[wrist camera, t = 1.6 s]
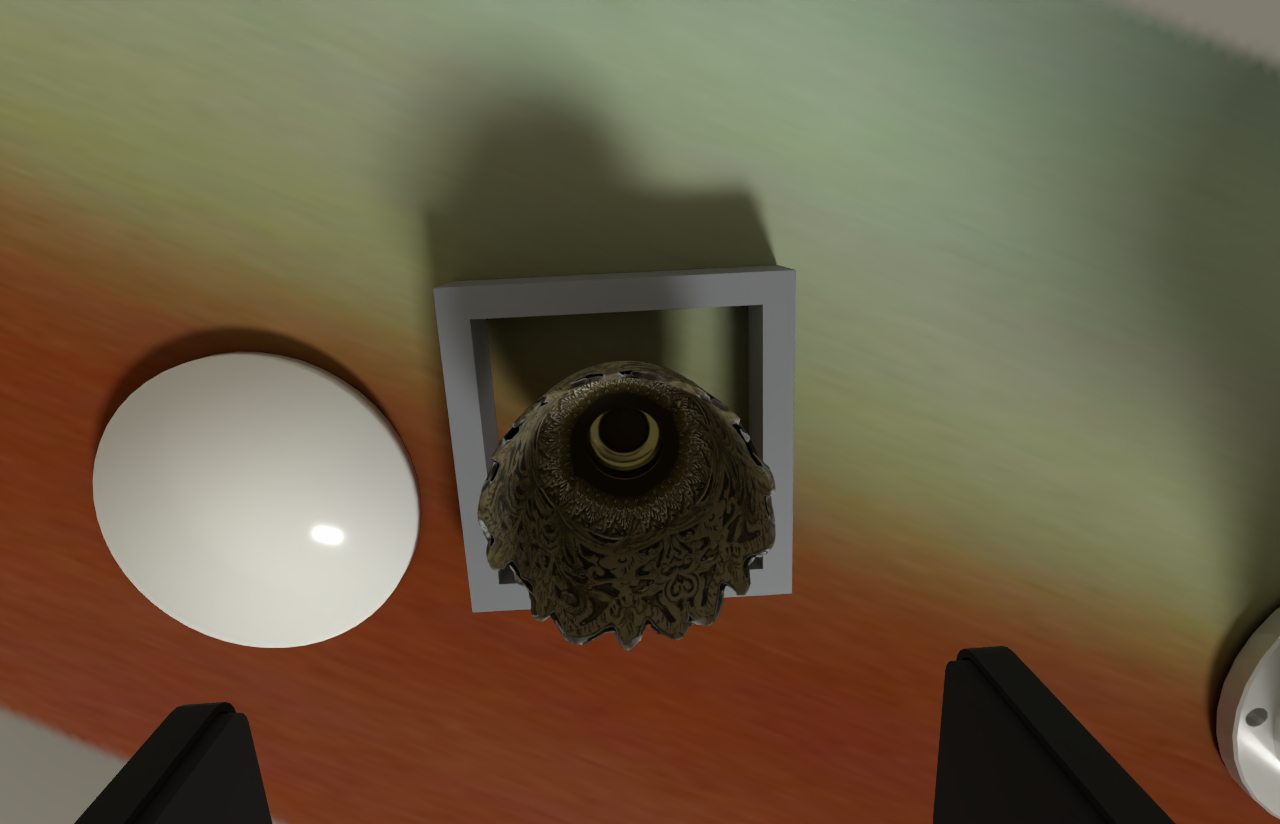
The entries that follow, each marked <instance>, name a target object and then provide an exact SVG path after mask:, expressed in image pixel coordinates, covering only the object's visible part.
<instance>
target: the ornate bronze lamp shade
mask: <svg viewBox="0 0 1280 824" xmlns="http://www.w3.org/2000/svg"><path fill="white" fill-rule="evenodd" d="M619 408H630V409H633V410H635V411H637V412H638V413H639V414H641V416H642V417H643V418H644V420H645V422H646V425H647V434H646V437H645V439H644V441H643V443H642V444H641V445H640V446H639V447H637V448H636V449H634V450H631V451H627V452H621V451H617V450H614V449H612V448H611V447H609V446H608V445H607V444H606V443H605V441H604V440H603V437H602V433H601V426H602V423H603V420H604V419H605V417H606V416H607V415H608V414H609V413H610V412H612V411H613V410H616V409H619ZM739 421H740V418H739V417H738V416H737V415H736V414H735V413H734V412H733V411H732V410H731V409H729V408H728V407H727V406H725V405H724V404H723V403H721V402H720V401H719V400H717V399H716V398H714V397H713V396H711V395H710V394H709V393H707V392H706V391H705V390H703V389H702V388H701V387H699V386H698V385H697V384H695V383H694V382H692V381H691V380H689V379H687V378H685V377H684V376H682V375H680V374H678V373H676V372H674V371H672V370H670V369H667V368H665V367H661V366H658V365H655V364H650V363H645V362H638V361H614V362H607V363H602V364H598V365H594V366H590V367H588V368H585V369H583V370H580V371H578V372H576V373H574V374H572V375H570V376H568V377H567V378H565V379H564V380H562V381H561V382H559V383H558V384H556V385H555V386H553V387H552V388H551V389H550V390H549V391H548V392H546V393H545V394H544V395H543V396H542V397H540V398H539V399H538V400H537V401H536V402H535V403H534V404H532V405H531V406H530V407H529V408H528V409H527V410H526V411H525V412H524V413H523V414H522V415H521V416H520V417H519V418H518V419H517V420H516V421H515V422H514V424H513V427H512V429H511V430H510V431H509V432H508V433H507V434H506V435H505V436H504V437H502V439H501V441H500V442H499V444H498V446H497V447H496V449H495V451H494V452H493V454H492V456H491V460H493V463H492V466H491V468H490V471H489V474H488V476H487V479H486V480H485V482H484V484H483V487H482V490H481V495H480V499H479V504H478V512H477V515H478V522H479V525H480V527H481V528H482V530H483V535H484V536H485V538H486V540H487V541H488V544H487V548H486V556H487V560H488V563H489V565H490V568H491V569H492V570H494V571H498V570H499V569H504V568H505V567H506V566H507V565H508V566H509V568H510V569H511V570H512V572H513V574H514V577H515V581H516V583H517V584H519V585H521V586H523V587H525V589H526V590H528V592H529V598H530V600H531V613H532V616H533V617H534V618H535V619H536V620H538V621H545V620H546V619H547V618H549V617H550V616H551V618H552V619H553V620H554V622H555V624H556V626H557V628H558V629H559V631H560V632H561V634H562V636H563V638H564V639H565V640H567V641H568V642H569V643H572V644H581V645H582V644H585V643H588V642H591V641H593V640H595V639H596V638H598V637H599V636H601V635H603V634H604V633H612V632H613V633H614V634H615V636H616V639H617V642H618V643H620V644H621V645H622V647H623V648H624V649H625V650H630V649H632V648H633V647H634V646H635V645H636V644H637V643H638V642H639V641H641V638H642V636H643V635H642V633H643V631H644V630H645V628H646V625H647V624H649V625H650V627H651V628H652V629H653V630H654V631H655V632H656V633H657V634H663V635H665V636H666V637H668V638H670V639H673V640H679V639H681V638H683V636H685V634H686V633H687V629H688V626H691V625H692V622H693V623H695V624H697V625H705V626H709V625H712V624H713V623H714V622H715V621H716V619H717V618H718V616H719V614H720V611H721V608H722V604H723V600H724V590H725V587H726V586H729V587H730V588H732V589H733V590H734V591H735V592H736V595H737V596H739V595H741V596H745V595H746V593H747V592H748V590H749V588H750V585H751V580H750V571H749V567H750V564H751V563H752V562H753V560H754V559H755V558H757V557H762V556H765V555H766V554H767V553H768V552H769V551H770V550H771V548H772V547H773V545H774V543H775V537H776V530H775V517H774V511H773V506H772V499H771V496H772V495H774V494H775V480H774V477H773V474H772V472H771V470H770V468H769V467H768V465H766V464H765V463H764V462H763V461H762V460H761V458H760V457H759V455H758V453H757V451H756V449H755V447H754V445H753V443H752V439H751V437H750V436H749V435H748V433H747V432H746V431H745V429H744V428H743V426H742V425H741V424H740V423H739Z"/></svg>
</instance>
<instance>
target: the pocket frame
mask: <svg viewBox="0 0 1280 824" xmlns="http://www.w3.org/2000/svg"><path fill="white" fill-rule="evenodd" d="M795 285H796V270H794V269H790V268H786V267H783V266H779V265H769V266H749V267H729V268H709V269H689V270H668V271H648V272H628V273H608V274H588V275H568V276H548V277H528V278H507V279H487V280H467V281H451V282H448V283H445V284H443V285H440V286H437V287H434V288H433V294H434V302H435V310H436V318H437V326H438V334H439V342H440V351H441V359H442V367H443V375H444V383H445V391H446V399H447V407H448V416H449V424H450V432H451V440H452V448H453V456H454V464H455V472H456V480H457V489H458V497H459V505H460V513H461V521H462V529H463V537H464V545H465V554H466V562H467V570H468V578H469V586H470V594H471V602H472V610H473V612H488V611H505V610H522V609H531V600H530V598H529V592H528V590H526V589H525V587H523V586H521V585H519V584H517V583H516V581H515V577H514V574H513V572H512V570H511V569H510V568H509V566H508V565H507V566H506V567H505V568H504V569H499V570H498V571H494V570H492V569H491V568H490V565H489V563H488V560H487V556H486V548H487V544H488V541H487V540H486V538H485V536H484V535H483V530H482V528H481V527H480V525H479V522H478V515H477V512H478V504H479V499H480V495H481V490H482V487H483V484H484V482H485V480H486V479H487V476H488V474H489V471H490V468H491V466H492V463H493V460H491V456H492V454H493V452H494V451H495V449H496V447H497V446H498V444H499V443H498V434H497V424H496V415H495V405H494V395H493V386H492V376H491V367H490V357H489V348H488V338H487V329H486V319H490V318H510V317H529V316H549V315H569V314H588V313H608V312H628V311H647V310H667V309H687V308H706V307H726V306H746V305H748V360H749V436H750V437H751V439H752V443H753V445H754V447H755V449H756V451H757V453H758V455H759V457H760V458H761V460H762V461H763V462H764V463H765V464H766V465H768V467H769V468H770V470H771V472H772V474H773V477H774V480H775V494H774V495H772V496H771V499H772V506H773V511H774V517H775V530H776V537H775V543H774V545H773V547H772V548H771V550H770V551H769V552H768V553H767V554H766V555H765V556H762V557H757V558H755V559H754V560H753V562H752V563H751V564H750V567H749V571H750V580H751V585H750V588H749V590H748V592H747V593H746V595H745V596H757V595H773V594H790V593H792V536H793V452H794V368H795ZM740 596H741V595H739V596H737V595H736V592H735V591H734V590H733V589H732V588H730V587H729V586H726V587H725V590H724V597H740Z"/></svg>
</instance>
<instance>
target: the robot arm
mask: <svg viewBox="0 0 1280 824" xmlns="http://www.w3.org/2000/svg"><path fill="white" fill-rule="evenodd" d="M1216 735H1217V740H1218V745H1219V750H1220V755H1221V757H1222V759H1223V761H1224V763H1225V765H1226V767H1227V769H1228V772H1229V774H1230V775H1231V777H1232V778H1233V779H1234V780H1235V781H1236V782H1237V783H1238V785H1239V786H1240V787H1241V788H1242V789H1243V790H1244V791H1245V792H1246V793H1247V794H1248V795H1249V796H1250V797H1251V798H1253V799H1254V800H1255V801H1256V802H1257V803H1258V804H1260V805H1261V806H1262V807H1263V808H1264V809H1265V810H1267V811H1268V812H1269V813H1270V814H1272V815H1273V816H1275V817H1277V818H1279V819H1280V607H1279V608H1278V609H1276V610H1275V611H1274V612H1273V613H1272V614H1271V615H1270V616H1269V617H1268V618H1267V619H1266V620H1265V621H1264V622H1263V623H1262V624H1261V625H1260V626H1259V627H1258V629H1257V630H1256V631H1255V632H1254V633H1253V634H1252V635H1251V637H1250V638H1249V639H1248V641H1247V642H1246V644H1245V645H1244V647H1243V648H1242V649H1241V651H1240V652H1239V654H1238V655H1237V657H1236V658H1235V660H1234V662H1233V664H1232V666H1231V669H1230V671H1229V673H1228V675H1227V677H1226V679H1225V681H1224V684H1223V688H1222V692H1221V696H1220V700H1219V704H1218V708H1217V725H1216ZM74 824H272V820H271V816H270V812H269V807H268V803H267V799H266V795H265V790H264V786H263V782H262V778H261V773H260V769H259V765H258V760H257V756H256V752H255V748H254V743H253V739H252V735H251V731H250V726H249V722H248V720H247V717H246V716H245V715H244V714H243V713H236V711H235V709H234V707H233V706H232V705H231V704H230V703H227V702H219V703H205V704H191V705H182V706H179V707H177V708H176V709H175V710H173V711H172V712H171V713H170V714H169V715H168V717H167V718H166V719H165V720H164V721H163V722H162V723H161V725H160V726H159V727H158V728H157V729H156V730H155V731H154V733H153V734H152V735H151V736H150V737H149V738H148V740H147V741H146V742H145V743H144V744H143V745H142V746H141V748H140V749H139V750H138V751H137V752H136V753H135V754H134V756H133V757H132V758H131V759H130V760H129V761H128V762H127V764H126V765H125V766H124V767H123V768H122V769H121V771H120V772H119V773H118V774H117V775H116V777H114V779H113V780H112V781H111V782H110V783H109V784H108V785H107V787H106V788H105V789H104V790H103V791H102V792H101V794H100V795H99V796H98V797H97V798H96V799H95V801H94V802H93V803H92V804H91V805H90V806H89V807H88V808H87V810H86V811H85V812H84V813H83V814H82V815H81V816H80V818H79V819H78V820H77V821H76V822H75V823H74ZM933 824H1175V823H1174V822H1173V821H1172V820H1171V819H1170V818H1169V817H1168V815H1167V814H1166V813H1165V812H1164V811H1163V810H1162V809H1161V808H1160V807H1159V806H1158V805H1157V804H1156V803H1155V802H1154V801H1153V800H1152V798H1151V797H1150V796H1149V795H1148V794H1147V793H1146V792H1145V791H1144V790H1143V789H1142V788H1141V787H1140V786H1139V785H1138V784H1137V783H1136V782H1135V780H1134V779H1133V778H1132V777H1131V776H1130V775H1129V774H1128V773H1127V772H1126V771H1125V770H1124V769H1123V768H1122V767H1121V766H1120V765H1119V764H1118V762H1117V761H1116V760H1115V759H1114V758H1113V757H1112V756H1111V755H1110V754H1109V753H1108V752H1107V751H1106V750H1105V749H1104V748H1103V747H1102V746H1101V744H1100V743H1099V742H1098V741H1097V740H1096V739H1095V738H1094V737H1093V736H1092V735H1091V734H1090V733H1089V732H1088V731H1087V730H1086V729H1085V727H1084V726H1083V725H1082V724H1081V723H1080V722H1079V721H1078V720H1077V719H1076V718H1075V717H1074V716H1073V715H1072V714H1071V713H1070V712H1069V711H1068V709H1067V708H1066V707H1065V706H1064V705H1063V704H1062V703H1061V702H1060V701H1059V700H1058V699H1057V698H1056V697H1055V696H1054V695H1053V694H1052V693H1051V691H1050V690H1049V689H1048V688H1047V687H1046V686H1045V685H1044V684H1043V683H1042V682H1041V681H1040V680H1039V679H1038V678H1037V677H1036V676H1035V674H1034V673H1033V672H1032V671H1031V670H1030V669H1029V668H1028V667H1027V666H1026V665H1025V664H1024V663H1023V662H1022V661H1021V660H1020V659H1019V658H1018V656H1017V655H1016V654H1015V653H1014V652H1013V651H1011V650H1010V649H1009V648H1008V647H1004V646H996V647H982V648H968V649H963V650H961V651H960V652H959V653H958V655H957V660H956V661H950V662H948V664H947V666H946V670H945V681H944V693H943V705H942V717H941V729H940V741H939V753H938V765H937V777H936V789H935V801H934V813H933Z"/></svg>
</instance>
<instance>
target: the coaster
mask: <svg viewBox="0 0 1280 824" xmlns="http://www.w3.org/2000/svg"><path fill="white" fill-rule="evenodd" d="M93 495H94V504H95V509H96V514H97V519H98V522H99V525H100V528H101V531H102V534H103V537H104V539H105V541H106V543H107V545H108V547H109V549H110V551H111V553H112V555H113V557H114V558H115V560H116V561H117V563H118V565H119V566H120V568H121V569H122V571H123V572H124V573H125V575H126V576H127V577H128V578H129V579H130V581H131V582H132V583H133V584H134V585H135V586H136V588H137V589H138V590H139V591H140V592H141V593H142V594H144V595H145V596H146V597H147V598H148V599H149V600H150V601H151V602H152V603H153V604H155V605H156V606H157V607H159V608H160V609H161V610H163V611H164V612H165V613H167V614H168V615H169V616H171V617H173V618H174V619H176V620H178V621H179V622H181V623H183V624H184V625H186V626H188V627H190V628H192V629H194V630H197V631H199V632H201V633H203V634H205V635H208V636H211V637H214V638H217V639H220V640H223V641H227V642H231V643H236V644H240V645H245V646H253V647H263V648H287V647H295V646H304V645H308V644H312V643H316V642H320V641H324V640H327V639H329V638H332V637H335V636H337V635H340V634H342V633H344V632H346V631H347V630H349V629H351V628H353V627H355V626H357V625H358V624H360V623H361V622H362V621H364V620H365V619H367V618H368V617H369V616H371V615H372V614H373V613H374V612H375V611H376V610H377V609H378V608H379V607H380V606H381V605H382V604H383V603H384V602H385V601H386V600H387V598H388V597H389V596H390V595H391V593H392V592H393V591H394V590H395V588H396V586H397V585H398V583H399V581H400V580H401V578H402V576H403V575H404V573H405V571H406V569H407V568H408V566H409V564H410V562H411V559H412V557H413V554H414V552H415V549H416V546H417V542H418V538H419V533H420V527H421V514H422V509H421V494H420V489H419V484H418V479H417V474H416V472H415V469H414V466H413V463H412V460H411V458H410V455H409V453H408V451H407V449H406V447H405V445H404V443H403V441H402V440H401V438H400V436H399V435H398V433H397V432H396V430H395V429H394V428H393V426H392V425H391V423H390V422H389V421H388V419H387V418H386V417H385V416H384V415H383V414H382V413H381V411H380V410H379V409H378V408H377V407H376V406H375V405H374V404H373V403H372V402H371V401H370V400H369V399H367V398H366V397H365V396H364V395H363V394H362V393H361V392H360V391H358V390H357V389H355V388H354V387H352V386H351V385H350V384H348V383H347V382H345V381H344V380H342V379H341V378H339V377H337V376H335V375H333V374H332V373H330V372H328V371H326V370H324V369H322V368H320V367H317V366H315V365H312V364H309V363H307V362H304V361H302V360H298V359H294V358H291V357H287V356H283V355H278V354H270V353H263V352H230V353H222V354H215V355H211V356H207V357H203V358H199V359H196V360H193V361H190V362H187V363H184V364H181V365H178V366H176V367H174V368H171V369H169V370H166V371H164V372H162V373H160V374H159V375H157V376H155V377H154V378H152V379H150V380H149V381H147V382H145V383H144V384H143V385H142V386H140V387H139V388H138V389H137V390H136V391H134V392H133V393H132V394H131V395H130V396H129V397H128V398H127V399H126V400H125V401H124V402H123V404H122V405H121V406H120V407H119V408H118V409H117V411H116V412H115V414H114V415H113V417H112V418H111V420H110V422H109V423H108V425H107V427H106V429H105V431H104V434H103V436H102V438H101V440H100V443H99V446H98V450H97V454H96V458H95V462H94V473H93Z"/></svg>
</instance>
